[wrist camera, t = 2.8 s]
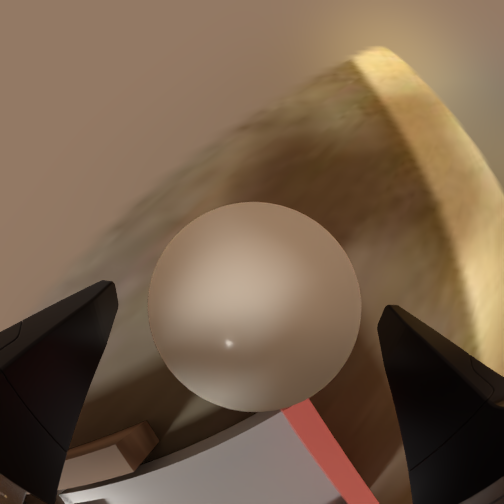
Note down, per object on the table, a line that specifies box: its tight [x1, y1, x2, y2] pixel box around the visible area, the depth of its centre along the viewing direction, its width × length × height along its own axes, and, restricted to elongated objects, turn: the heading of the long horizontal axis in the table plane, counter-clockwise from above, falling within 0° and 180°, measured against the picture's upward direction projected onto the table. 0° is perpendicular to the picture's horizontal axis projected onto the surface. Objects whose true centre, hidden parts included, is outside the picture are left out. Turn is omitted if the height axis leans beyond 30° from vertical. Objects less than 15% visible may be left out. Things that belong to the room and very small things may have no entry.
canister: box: [148, 202, 361, 412], centre depth 11 cm, size 5×5×10 cm
